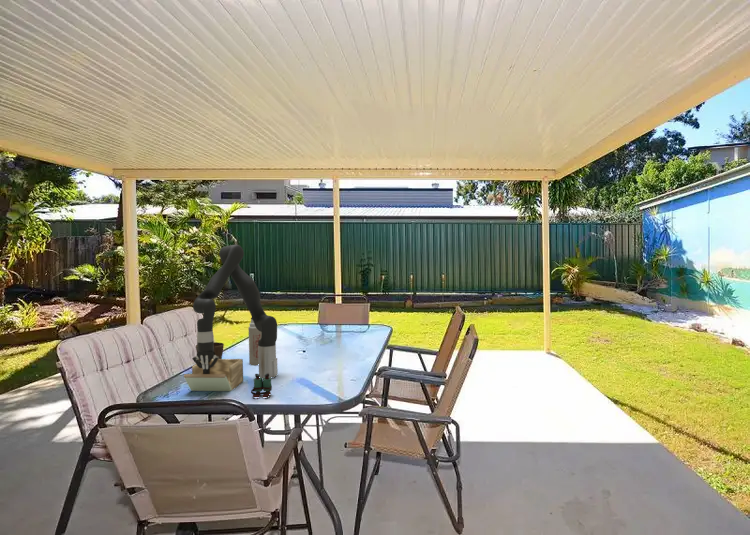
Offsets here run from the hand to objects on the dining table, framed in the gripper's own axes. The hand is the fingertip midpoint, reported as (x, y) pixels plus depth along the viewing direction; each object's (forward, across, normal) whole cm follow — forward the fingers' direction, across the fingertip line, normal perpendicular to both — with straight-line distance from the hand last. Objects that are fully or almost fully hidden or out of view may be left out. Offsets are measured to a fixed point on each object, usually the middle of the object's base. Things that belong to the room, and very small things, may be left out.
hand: (206, 376), depth 241 cm
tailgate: (+8, 0, -4) cm, 9 cm away
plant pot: (+9, +15, -40) cm, 43 cm away
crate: (+9, 0, -14) cm, 16 cm away
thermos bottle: (+9, -4, -62) cm, 63 cm away
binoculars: (+9, -28, +4) cm, 30 cm away
